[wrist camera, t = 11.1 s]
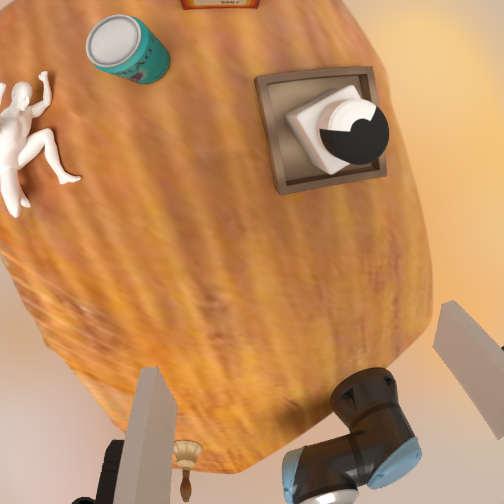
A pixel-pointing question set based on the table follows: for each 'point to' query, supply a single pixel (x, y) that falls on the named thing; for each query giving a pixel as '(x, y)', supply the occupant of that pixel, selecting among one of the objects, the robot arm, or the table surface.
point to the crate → (285, 142)
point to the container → (339, 129)
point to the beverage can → (127, 49)
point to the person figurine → (25, 142)
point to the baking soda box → (219, 4)
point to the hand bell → (186, 463)
